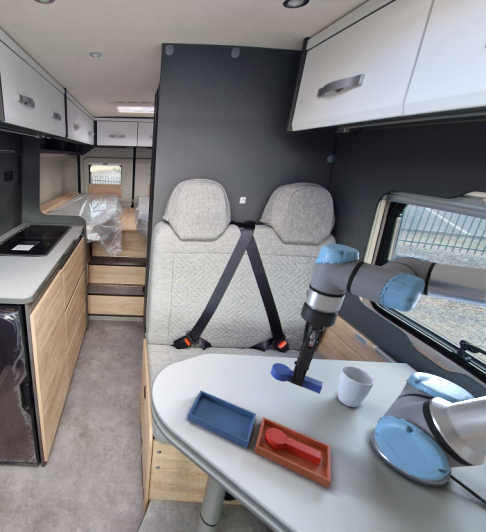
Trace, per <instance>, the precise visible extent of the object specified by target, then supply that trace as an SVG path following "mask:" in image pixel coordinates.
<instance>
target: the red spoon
mask: <svg viewBox="0 0 486 532" xmlns="http://www.w3.org/2000/svg"><path fill="white" fill-rule="evenodd" d="M265 441H266V443H267V445H268V446H269V447H270V448H272V449H274V450H277V451H281V450H285V451H287V452H289V453H292V454H294V455H296V456H298V457H300V458H302V459H305V460H307V461H309V462H311V463H313V464H315V465H317V466H319V464H320V461H321V452H320V451H318V450H316V449H313V448H311V447H309V446H306V445H304V444H302V443H300V442H297V441H295V440H293V439H291V438H288V437H286V435H285V434H284V433H283V432H282V431H281V430H279V429H277V428H269V429H268V430H267V432H266V436H265Z"/></svg>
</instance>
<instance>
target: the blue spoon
mask: <svg viewBox="0 0 486 532" xmlns="http://www.w3.org/2000/svg"><path fill="white" fill-rule="evenodd" d="M293 373H294V370H292V369H291V368H290V367H289V365H286V364H284V363H281V362H275V363H273V364H272V367H271V370H270V375H271V377H272V378H273V379H275V380H276V381H279V382H282V383H283V382H289V383H291V380H292V376H293ZM301 388H304V389H306V390H309V391H311V392H314V393H317V394H319V395H320V394H321V391H322V389H323V381H321V380H320V379H319V380H318V379H316V378H313V377H310V376H308V375H307V374H306V375H305V378H304V381H303V384H302V387H301Z"/></svg>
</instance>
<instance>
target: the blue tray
mask: <svg viewBox="0 0 486 532" xmlns="http://www.w3.org/2000/svg"><path fill="white" fill-rule="evenodd" d="M256 416H257V413H255V412H252V411H250V410H247V409H245V408H243V407H241V406H239V405H236V404H234V403H232V402H229V401H227V400H225V399H222V398H219V397H217V396H215V395H213V394H210V393H209V392H206V391H203V390H199V393H198V394H197V397H196V399H195V400H194V401H193V404H192V406H191V407H190V410H189V412H188V413H187V419H186V420H187V421H189V422H191V423H193V424H195V425H197V426H198V427H202V428H204V429H206V430H207V431H209V432H212V433H214V434H215V435H218V436H220V437H221V438H224V439H226V440H228V441H230V442H233V444H236V445H239V446H241V447H243V448H245V449H248V446H249V443H250V440H251V439H250V438H251V435H252V431H253V428H254V425H255V420H256Z"/></svg>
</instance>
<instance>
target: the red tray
mask: <svg viewBox="0 0 486 532" xmlns="http://www.w3.org/2000/svg"><path fill="white" fill-rule="evenodd" d="M269 428H277V429H279V430H281V431H282V432H283V433H284V434H285V435H286V437H288V438H291V439H293V440H295V441H297V442H300V443H302V444H304V445H306V446H309V447H311V448H313V449H316V450H318V451H320V452H321V461H320V464H319V466H317V465H315V464H313V463H311V462H309V461H307V460H305V459H302V458H300V457H298V456H296V455H294V454H292V453H289V452H287V451H285V450H281V451H277V450H274V449H272V448H270V447H269V446H268V445H267V443H266V441H265V436H266V432H267V430H268V429H269ZM257 435H258V436H257V439H256V444H255V447H254V453H256V454H257V455H259V456H261V457H263V458H266V459H268V460H269V461H272V462H274V463H276V464H277V465H280V466H282V467H284V468H286V469H288V470H291V471H292V472H294V473H296V474H298V475H301V476H303V477H305V478H307V479H308V480H311V481H313V482H315V483H317V484H320V485H321V486H323V487H326V488H328V489H329V488H330V485H331V483H332V462H331V461H332V458H331V456H332V454H331V451H332V450H331V445H330V444H327V443H326V442H324V441H320V440H318V439H316V438H313V437H311V436H309V435H307V434H304V433H302V432H300V431H298V430H294V429H292V428H290V427H288V426H285V425H284V424H281V423H278V422H276V421H274V420H271V419H270V418H266V417H264V416H263V417H262V418H261V423H260V427H259V432H258V434H257Z"/></svg>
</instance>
